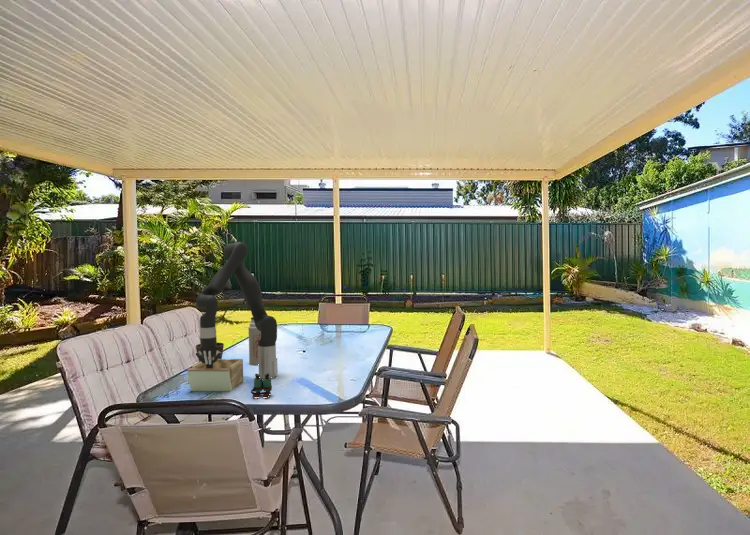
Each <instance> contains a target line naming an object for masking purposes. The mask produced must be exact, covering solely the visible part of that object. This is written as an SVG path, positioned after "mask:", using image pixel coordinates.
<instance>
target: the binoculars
mask: <svg viewBox="0 0 750 535" xmlns="http://www.w3.org/2000/svg"><path fill="white" fill-rule="evenodd" d="M254 376H255V377H254V379H253V387H252V389H251V390H250V394H251V395H252V398H253V397H259V396H260V397H262V398H263V397H268V396H271V395H272V390H273V387H272V378H269V373H268V374H265V378H259V376H260V375H259V373H255V374H254ZM269 394H271V395H269ZM261 395H262V396H261Z"/></svg>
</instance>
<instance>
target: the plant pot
mask: <svg viewBox="0 0 750 535" xmlns="http://www.w3.org/2000/svg"><path fill="white" fill-rule="evenodd" d="M224 347H225V344H224V342H219V341H218V342H217V348H218V351H219V352H222V355H221V356H220V357H219V359H223V354H224ZM200 348H201V346H200V343H199V344H198V343H197V344H196V345H195V350H196V351H195V352H196V353H197V352H199V351H200ZM202 356H203V354H202ZM216 356H217V355H216V354H215V355H214V358H215V357H216ZM203 357H204V356H203ZM214 358H213V359H214ZM197 360H198V363H199V362H201V361H200V360H199V358H198V357H197Z"/></svg>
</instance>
